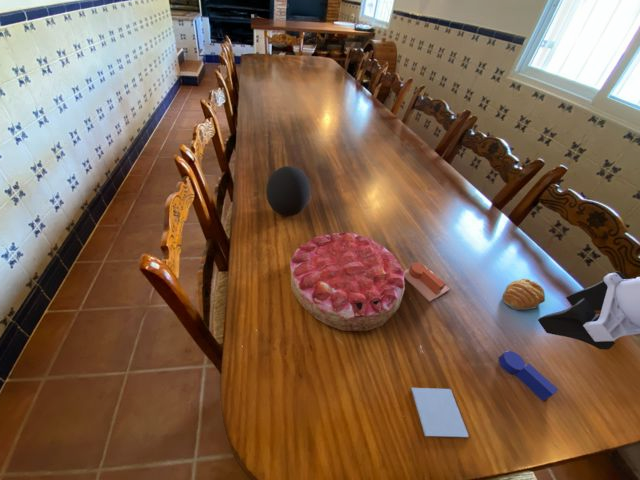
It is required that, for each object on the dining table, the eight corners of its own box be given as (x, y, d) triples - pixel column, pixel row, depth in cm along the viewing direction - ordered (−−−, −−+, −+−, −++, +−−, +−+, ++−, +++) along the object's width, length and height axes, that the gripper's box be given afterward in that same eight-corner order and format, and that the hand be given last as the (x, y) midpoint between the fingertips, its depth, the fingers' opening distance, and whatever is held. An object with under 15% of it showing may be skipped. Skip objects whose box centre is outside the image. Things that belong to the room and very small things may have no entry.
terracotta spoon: (443, 290, 69) (448, 282, 67) (433, 296, 67) (438, 288, 65) (415, 265, 74) (419, 257, 72) (405, 270, 73) (409, 262, 71)
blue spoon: (550, 393, 53) (561, 386, 51) (540, 404, 52) (551, 397, 50) (505, 352, 59) (513, 344, 57) (494, 360, 57) (502, 353, 55)
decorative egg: (308, 202, 92) (315, 160, 83) (305, 229, 83) (312, 184, 73) (269, 197, 93) (271, 154, 83) (262, 223, 83) (263, 177, 74)
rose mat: (449, 290, 69) (449, 289, 69) (429, 302, 67) (430, 301, 66) (419, 264, 75) (419, 263, 75) (399, 273, 72) (400, 272, 72)
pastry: (521, 319, 65) (531, 309, 62) (492, 296, 69) (501, 285, 67) (543, 302, 69) (553, 292, 66) (514, 281, 73) (523, 271, 71)
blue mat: (449, 389, 52) (450, 388, 52) (468, 437, 47) (469, 437, 47) (411, 388, 52) (411, 387, 52) (424, 436, 47) (425, 435, 46)
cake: (423, 323, 61) (435, 298, 56) (306, 345, 57) (308, 321, 52) (372, 243, 80) (378, 220, 76) (282, 256, 76) (282, 232, 71)
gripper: (684, 242, 35) (565, 270, 47) (629, 292, 30) (511, 309, 42) (734, 297, 33) (597, 311, 45) (685, 360, 28) (544, 358, 40)
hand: (557, 313), depth 44 cm, fingers open, 7 cm apart
